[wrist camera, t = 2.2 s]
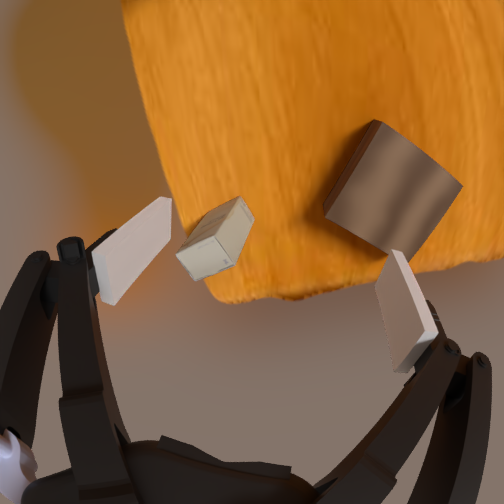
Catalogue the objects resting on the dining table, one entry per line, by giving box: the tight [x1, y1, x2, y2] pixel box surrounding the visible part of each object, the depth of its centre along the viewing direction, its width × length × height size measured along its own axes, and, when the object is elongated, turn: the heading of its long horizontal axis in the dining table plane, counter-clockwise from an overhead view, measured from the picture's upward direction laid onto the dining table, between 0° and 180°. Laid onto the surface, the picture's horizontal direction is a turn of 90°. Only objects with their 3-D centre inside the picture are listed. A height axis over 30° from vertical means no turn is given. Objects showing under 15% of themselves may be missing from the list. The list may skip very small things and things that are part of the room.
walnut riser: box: [323, 119, 463, 262], centre depth 33 cm, size 14×14×5 cm
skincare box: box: [176, 196, 255, 281], centre depth 37 cm, size 6×4×12 cm
